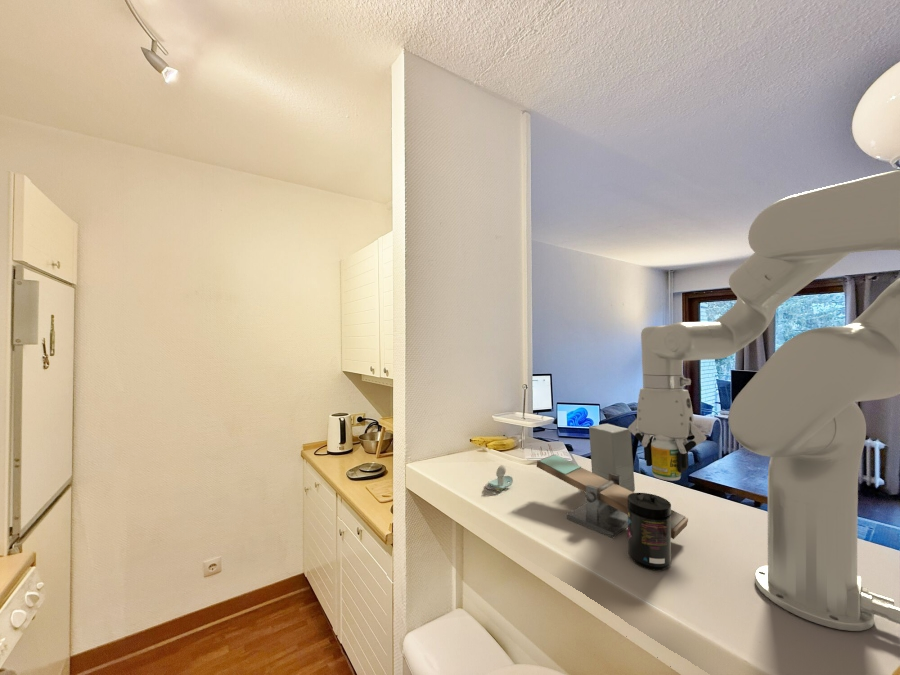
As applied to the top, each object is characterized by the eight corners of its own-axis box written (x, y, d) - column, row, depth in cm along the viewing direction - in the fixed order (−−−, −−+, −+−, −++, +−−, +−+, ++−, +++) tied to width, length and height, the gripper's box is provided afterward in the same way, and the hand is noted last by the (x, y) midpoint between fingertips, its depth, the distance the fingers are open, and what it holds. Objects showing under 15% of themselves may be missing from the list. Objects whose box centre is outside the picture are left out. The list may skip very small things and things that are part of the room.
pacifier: (479, 488, 96) (497, 495, 91) (479, 464, 96) (496, 469, 91) (498, 481, 101) (516, 487, 96) (497, 458, 101) (515, 462, 96)
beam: (687, 525, 72) (689, 516, 71) (671, 542, 66) (673, 531, 66) (554, 460, 94) (556, 452, 94) (534, 468, 88) (535, 460, 88)
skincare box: (635, 492, 92) (635, 429, 92) (613, 497, 90) (613, 432, 89) (609, 480, 100) (609, 421, 100) (588, 484, 97) (588, 424, 97)
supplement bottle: (660, 471, 83) (658, 427, 83) (686, 477, 78) (684, 432, 79) (647, 475, 80) (645, 431, 80) (673, 483, 75) (671, 435, 76)
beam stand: (640, 516, 80) (640, 479, 80) (612, 538, 72) (612, 496, 72) (596, 500, 88) (596, 467, 88) (566, 518, 79) (566, 481, 79)
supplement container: (656, 548, 68) (656, 492, 68) (680, 572, 61) (680, 509, 61) (620, 549, 68) (620, 492, 68) (640, 573, 61) (640, 510, 61)
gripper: (714, 383, 76) (719, 473, 75) (629, 380, 89) (632, 456, 88) (703, 386, 71) (708, 482, 70) (615, 382, 84) (618, 463, 83)
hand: (666, 467), depth 79 cm, fingers closed on supplement bottle, 5 cm apart
